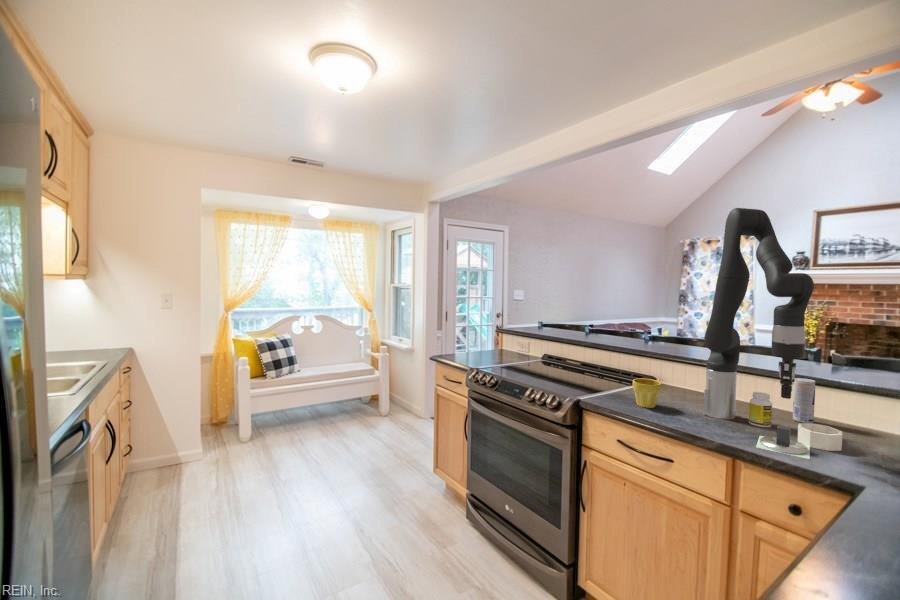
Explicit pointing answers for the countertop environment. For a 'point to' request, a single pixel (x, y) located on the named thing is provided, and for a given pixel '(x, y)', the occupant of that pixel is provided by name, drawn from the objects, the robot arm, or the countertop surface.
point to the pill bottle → (760, 410)
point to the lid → (783, 442)
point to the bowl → (820, 436)
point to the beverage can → (804, 400)
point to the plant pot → (646, 392)
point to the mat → (806, 456)
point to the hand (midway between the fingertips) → (786, 394)
